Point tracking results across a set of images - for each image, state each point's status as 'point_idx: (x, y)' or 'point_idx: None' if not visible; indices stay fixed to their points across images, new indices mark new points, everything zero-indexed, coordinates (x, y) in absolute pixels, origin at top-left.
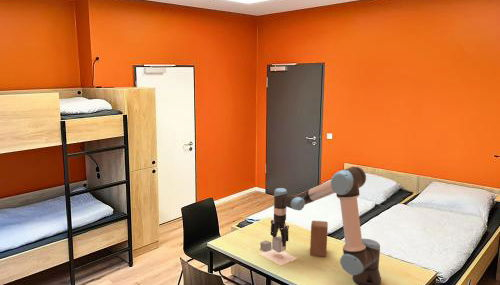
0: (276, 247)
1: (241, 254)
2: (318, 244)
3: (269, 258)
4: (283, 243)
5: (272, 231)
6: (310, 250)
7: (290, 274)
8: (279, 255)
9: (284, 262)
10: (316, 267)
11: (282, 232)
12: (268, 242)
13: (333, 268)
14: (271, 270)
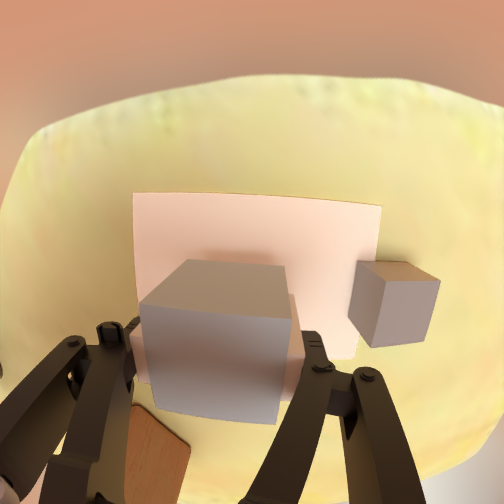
0: (211, 274)
1: (440, 115)
2: None
3: (264, 203)
4: (127, 334)
5: (360, 421)
6: (130, 423)
7: (52, 171)
8: None
9: (147, 244)
10: (47, 325)
11: (74, 439)
12: (387, 328)
13: (29, 357)
14: (139, 102)
